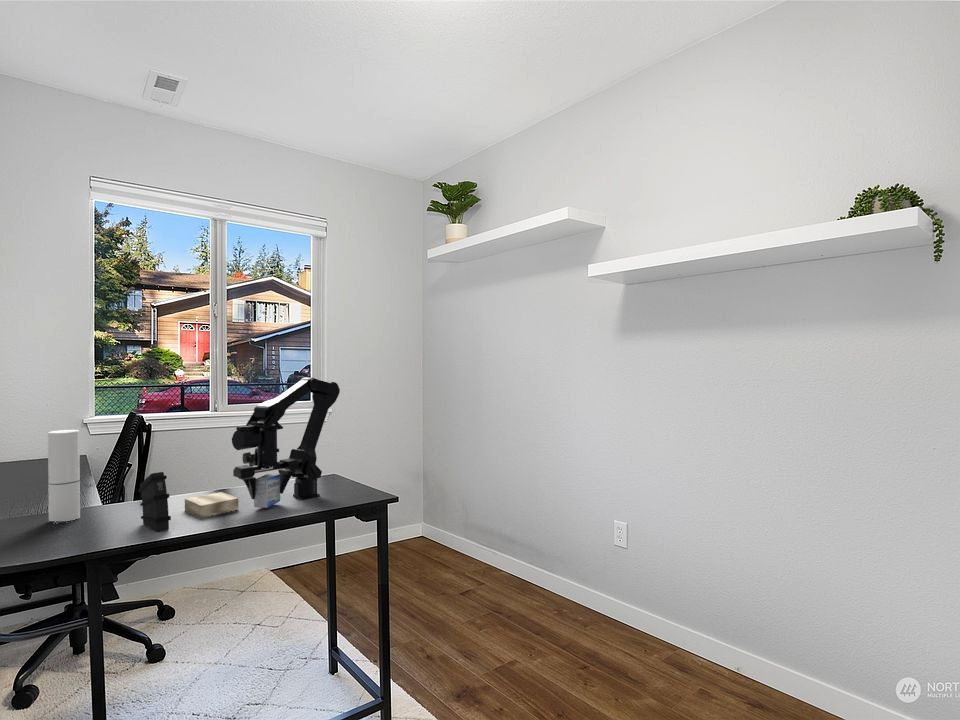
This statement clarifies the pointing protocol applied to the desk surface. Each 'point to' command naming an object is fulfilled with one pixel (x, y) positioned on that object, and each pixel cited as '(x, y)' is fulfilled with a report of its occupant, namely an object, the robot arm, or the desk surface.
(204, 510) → the maple block
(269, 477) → the medicine box
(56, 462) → the cylindrical container
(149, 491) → the magazine
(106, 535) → the desk surface
